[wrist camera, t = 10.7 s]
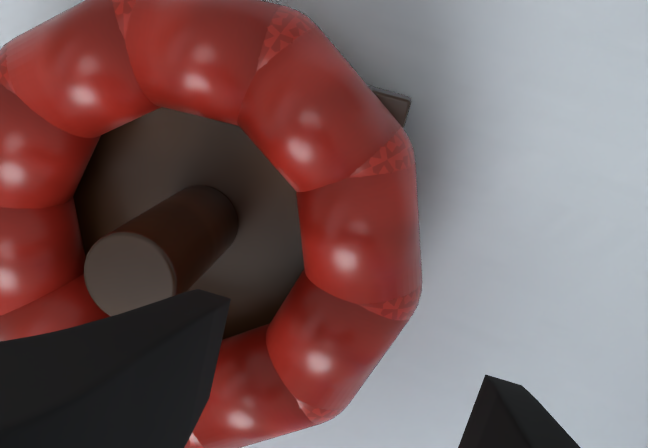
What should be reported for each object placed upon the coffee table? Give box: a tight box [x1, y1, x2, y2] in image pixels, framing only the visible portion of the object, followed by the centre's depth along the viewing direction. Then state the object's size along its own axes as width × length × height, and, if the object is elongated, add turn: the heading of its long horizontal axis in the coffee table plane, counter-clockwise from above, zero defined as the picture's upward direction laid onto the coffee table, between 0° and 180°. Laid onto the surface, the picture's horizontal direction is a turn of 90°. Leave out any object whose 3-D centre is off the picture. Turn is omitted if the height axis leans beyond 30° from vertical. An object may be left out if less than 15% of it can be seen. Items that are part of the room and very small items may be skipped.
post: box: [73, 85, 411, 340], centre depth 15 cm, size 9×9×6 cm
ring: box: [0, 0, 422, 448], centre depth 15 cm, size 12×12×3 cm
